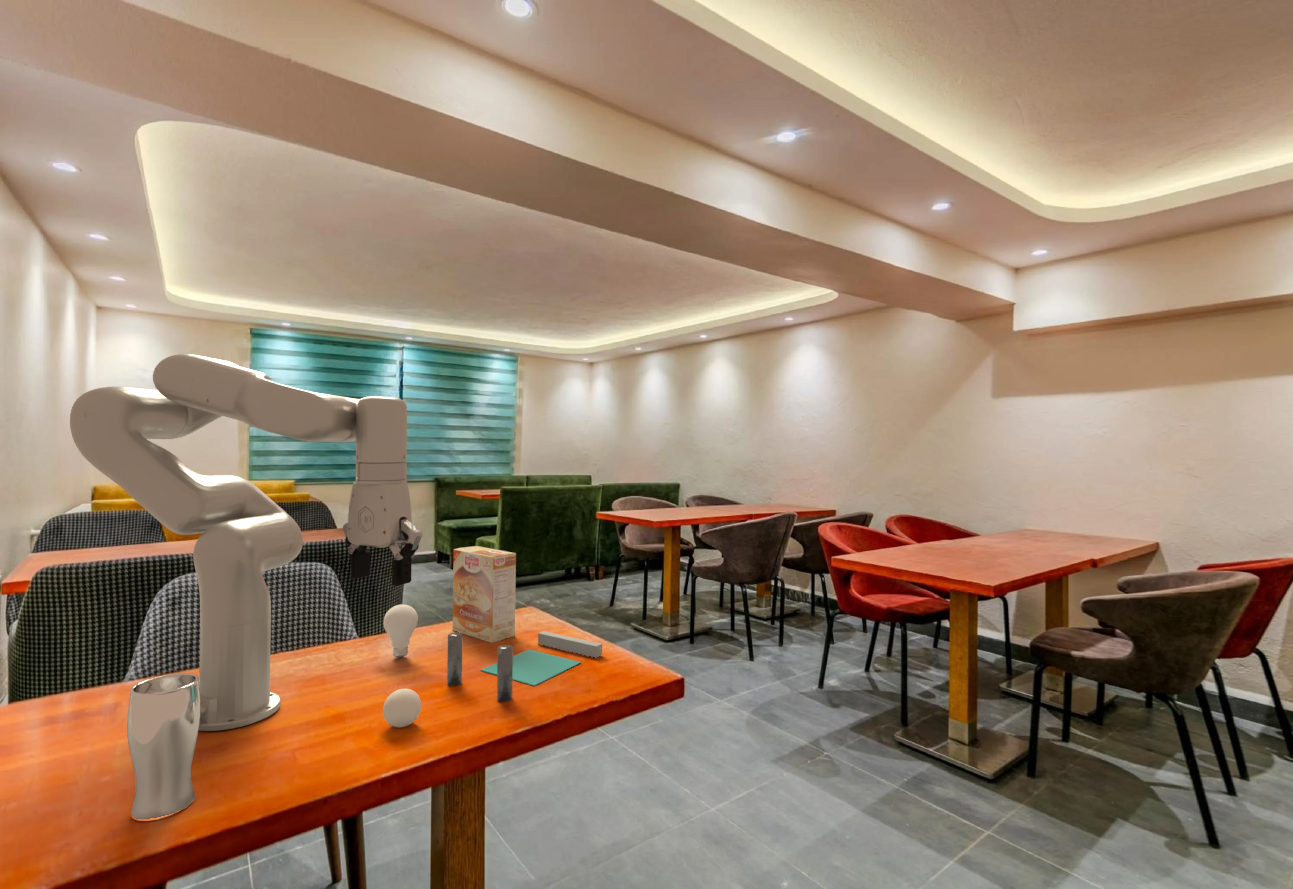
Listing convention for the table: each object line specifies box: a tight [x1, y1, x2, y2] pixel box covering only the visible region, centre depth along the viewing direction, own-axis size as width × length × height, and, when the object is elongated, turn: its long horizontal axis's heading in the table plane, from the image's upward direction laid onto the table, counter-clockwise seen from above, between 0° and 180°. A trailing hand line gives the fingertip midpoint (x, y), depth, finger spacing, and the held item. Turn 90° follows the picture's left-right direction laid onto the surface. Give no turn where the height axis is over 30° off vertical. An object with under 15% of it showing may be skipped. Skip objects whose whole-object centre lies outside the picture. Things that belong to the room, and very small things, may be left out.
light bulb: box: [382, 603, 419, 659], centre depth 125 cm, size 7×7×11 cm
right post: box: [496, 644, 514, 703], centre depth 105 cm, size 3×3×9 cm
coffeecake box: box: [451, 545, 517, 644], centre depth 141 cm, size 15×7×20 cm, turn 53°
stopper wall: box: [537, 630, 603, 659], centre depth 131 cm, size 2×16×2 cm, turn 59°
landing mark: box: [480, 649, 582, 687], centre depth 120 cm, size 14×14×1 cm
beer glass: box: [126, 672, 201, 819], centre depth 73 cm, size 7×7×15 cm
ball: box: [382, 688, 422, 728], centre depth 95 cm, size 6×6×6 cm
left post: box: [446, 632, 463, 687], centre depth 112 cm, size 3×3×9 cm
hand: (380, 580), depth 97 cm, fingers open, 9 cm apart
